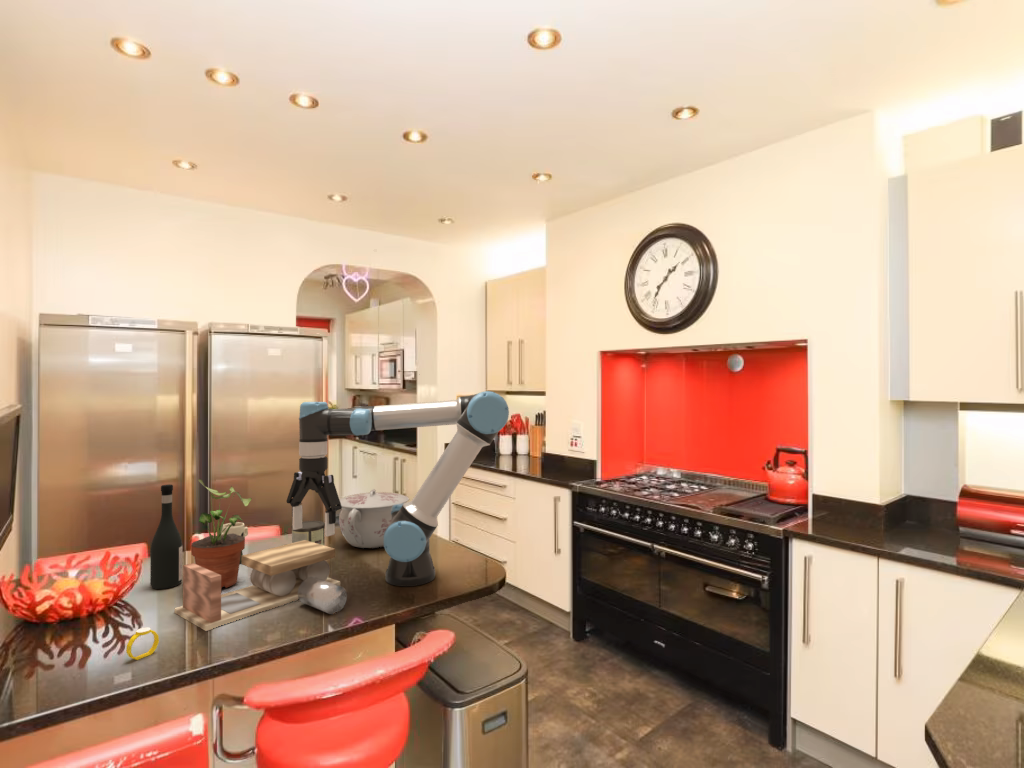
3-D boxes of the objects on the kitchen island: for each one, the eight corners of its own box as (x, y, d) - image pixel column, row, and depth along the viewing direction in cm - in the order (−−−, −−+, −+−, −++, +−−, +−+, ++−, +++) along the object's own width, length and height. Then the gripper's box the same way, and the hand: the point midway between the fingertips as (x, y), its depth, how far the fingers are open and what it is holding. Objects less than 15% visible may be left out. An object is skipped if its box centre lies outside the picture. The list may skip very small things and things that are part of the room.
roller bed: (340, 585, 161) (340, 544, 161) (205, 631, 131) (206, 580, 131) (305, 573, 172) (306, 535, 172) (174, 612, 142) (174, 566, 142)
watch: (153, 651, 122) (155, 623, 122) (159, 654, 120) (162, 626, 121) (123, 660, 116) (125, 632, 117) (130, 664, 115) (132, 635, 115)
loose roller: (346, 610, 144) (347, 583, 144) (323, 617, 138) (324, 589, 139) (319, 599, 151) (321, 574, 152) (296, 606, 146) (298, 579, 146)
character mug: (224, 569, 176) (224, 529, 176) (210, 566, 179) (210, 527, 179) (254, 560, 185) (254, 522, 185) (241, 557, 189) (241, 520, 189)
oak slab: (335, 557, 161) (335, 548, 161) (271, 575, 145) (271, 566, 145) (304, 547, 171) (304, 540, 171) (241, 564, 155) (241, 555, 155)
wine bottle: (175, 578, 167) (175, 481, 168) (187, 584, 163) (187, 484, 163) (145, 586, 161) (146, 485, 161) (157, 592, 156) (157, 488, 156)
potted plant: (218, 597, 152) (218, 473, 152) (179, 591, 157) (179, 470, 158) (261, 579, 167) (261, 465, 167) (224, 573, 172) (224, 463, 172)
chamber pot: (389, 530, 225) (389, 480, 225) (422, 545, 204) (422, 489, 204) (322, 542, 207) (322, 488, 207) (351, 560, 186) (351, 499, 186)
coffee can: (300, 561, 184) (301, 520, 184) (330, 562, 183) (330, 520, 183) (285, 571, 174) (285, 527, 174) (316, 572, 173) (316, 528, 173)
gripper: (355, 457, 149) (354, 534, 149) (296, 452, 162) (295, 523, 162) (333, 460, 143) (333, 541, 142) (273, 455, 155) (273, 529, 155)
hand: (313, 532), depth 152 cm, fingers open, 13 cm apart
